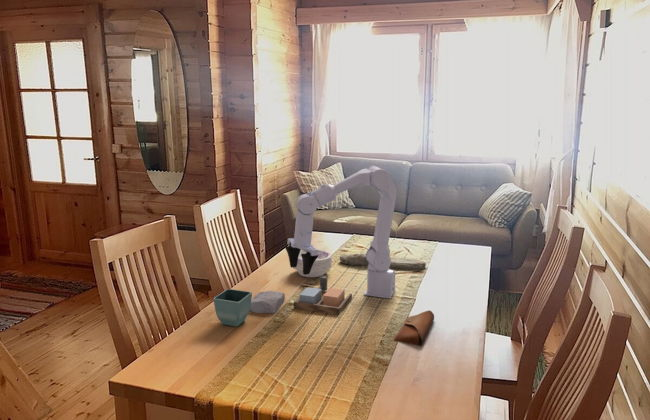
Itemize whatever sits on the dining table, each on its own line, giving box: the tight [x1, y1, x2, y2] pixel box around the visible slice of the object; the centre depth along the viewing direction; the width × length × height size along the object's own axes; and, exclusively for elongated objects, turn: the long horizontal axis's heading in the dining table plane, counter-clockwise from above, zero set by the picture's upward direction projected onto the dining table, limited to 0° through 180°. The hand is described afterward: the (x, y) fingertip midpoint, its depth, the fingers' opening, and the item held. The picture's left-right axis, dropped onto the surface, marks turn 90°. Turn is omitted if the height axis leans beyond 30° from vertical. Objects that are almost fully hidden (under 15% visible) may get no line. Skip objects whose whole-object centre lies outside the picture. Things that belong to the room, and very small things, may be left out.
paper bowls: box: [293, 249, 332, 278], centre depth 200 cm, size 15×15×8 cm
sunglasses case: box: [393, 310, 435, 347], centre depth 151 cm, size 18×7×7 cm
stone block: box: [250, 290, 286, 314], centre depth 170 cm, size 12×5×10 cm
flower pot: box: [212, 288, 253, 328], centre depth 157 cm, size 9×9×9 cm
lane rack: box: [293, 293, 353, 316], centre depth 172 cm, size 15×14×2 cm
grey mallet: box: [299, 275, 328, 304], centre depth 175 cm, size 5×17×5 cm, turn 160°
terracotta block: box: [322, 287, 346, 307], centre depth 170 cm, size 5×7×4 cm
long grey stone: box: [338, 253, 427, 271], centre depth 210 cm, size 35×5×10 cm
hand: (299, 270), depth 173 cm, fingers open, 7 cm apart
